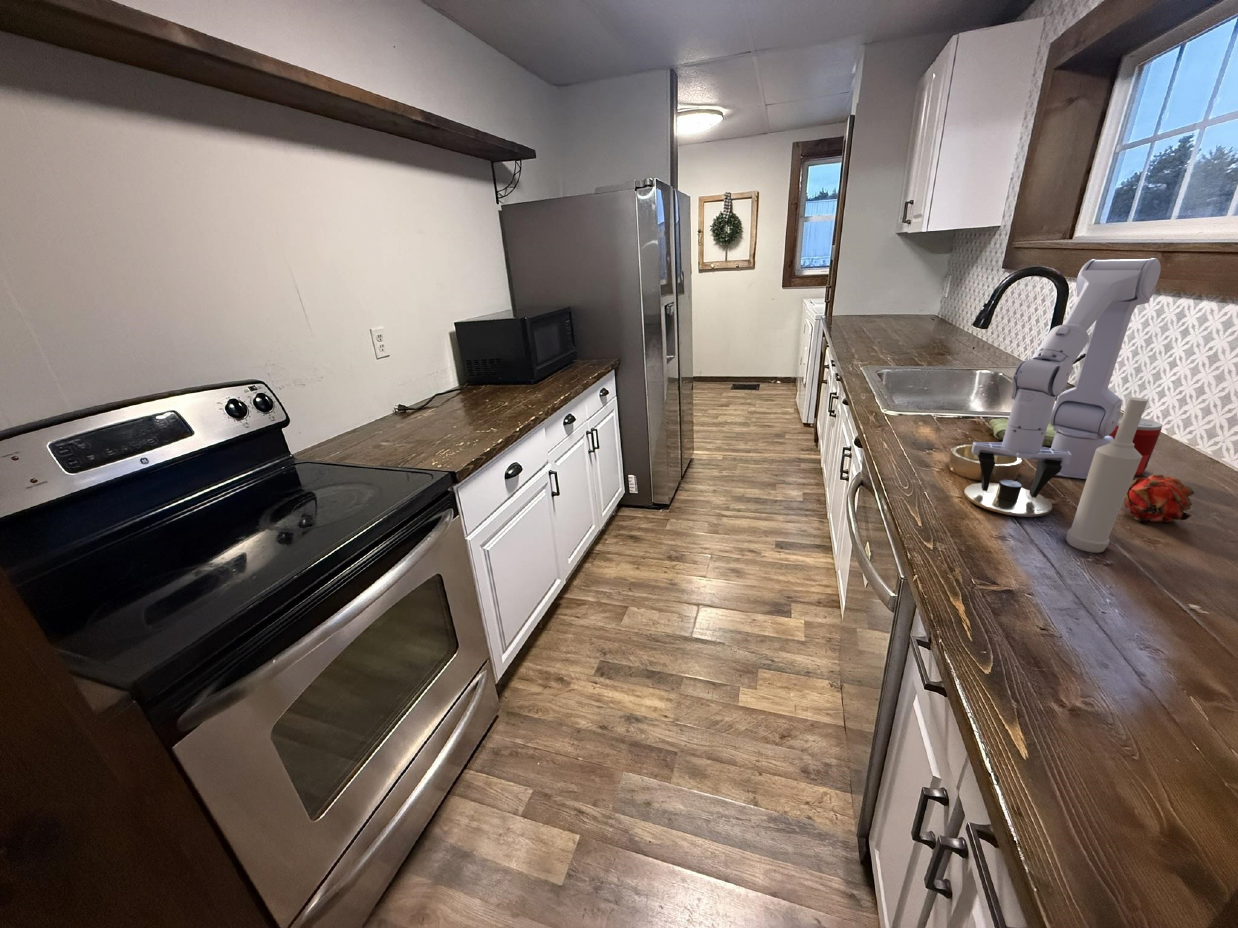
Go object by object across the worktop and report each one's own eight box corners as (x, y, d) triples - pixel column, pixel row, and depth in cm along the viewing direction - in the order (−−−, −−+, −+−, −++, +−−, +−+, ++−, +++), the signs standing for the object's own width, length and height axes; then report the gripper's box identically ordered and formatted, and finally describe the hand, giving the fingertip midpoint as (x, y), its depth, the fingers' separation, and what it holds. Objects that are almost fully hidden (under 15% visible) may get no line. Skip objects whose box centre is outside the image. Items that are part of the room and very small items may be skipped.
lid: (1041, 494, 100) (1047, 475, 98) (1059, 525, 88) (1066, 504, 87) (960, 483, 106) (964, 465, 104) (967, 511, 94) (972, 491, 93)
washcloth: (1083, 450, 119) (1087, 437, 118) (993, 441, 127) (996, 429, 126) (1068, 433, 130) (1072, 421, 129) (986, 426, 138) (989, 415, 136)
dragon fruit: (1156, 513, 94) (1144, 545, 87) (1114, 480, 96) (1100, 509, 90) (1210, 491, 87) (1201, 523, 81) (1164, 456, 89) (1152, 485, 83)
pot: (1011, 464, 113) (1015, 448, 112) (1022, 486, 103) (1027, 468, 102) (946, 457, 119) (949, 441, 117) (950, 477, 109) (954, 460, 107)
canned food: (1153, 477, 104) (1173, 427, 100) (1108, 475, 106) (1126, 427, 102) (1127, 463, 111) (1144, 416, 107) (1085, 462, 113) (1101, 415, 109)
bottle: (1096, 539, 84) (1150, 395, 74) (1113, 555, 79) (1172, 404, 70) (1059, 535, 86) (1106, 394, 76) (1073, 550, 81) (1125, 403, 72)
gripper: (982, 427, 91) (965, 494, 96) (1085, 436, 85) (1061, 507, 90) (977, 417, 97) (962, 480, 102) (1073, 424, 90) (1051, 491, 95)
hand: (1008, 492), depth 96 cm, fingers open, 7 cm apart
